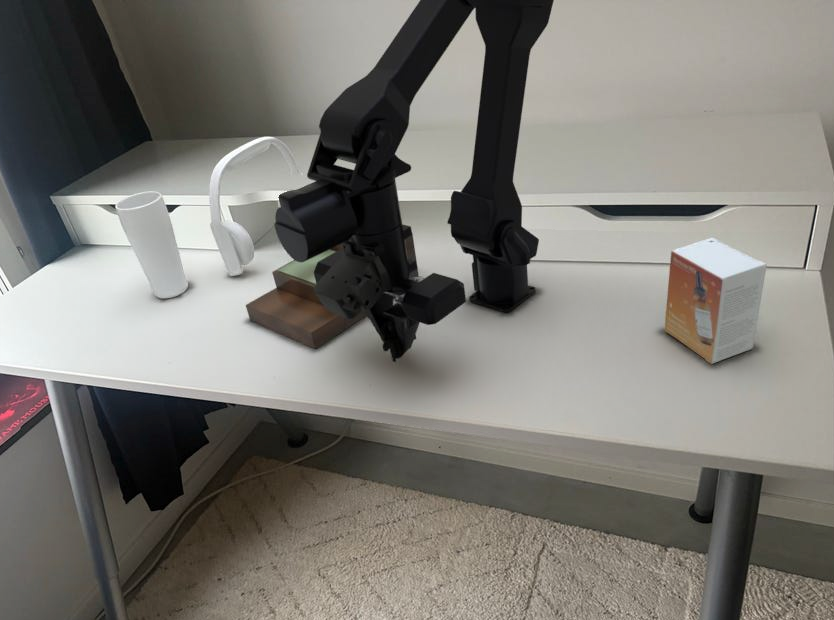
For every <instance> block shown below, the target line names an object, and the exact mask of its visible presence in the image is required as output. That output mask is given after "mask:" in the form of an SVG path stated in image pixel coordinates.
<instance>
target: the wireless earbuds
mask: <svg viewBox="0 0 834 620" xmlns="http://www.w3.org/2000/svg"><path fill="white" fill-rule="evenodd" d="M380 334H381V336H383V337H385V338H388V341H389V342H387V341H385V342H383V341H382V350H383V352H384V353H385V352H388V351H389V352H390V356H391V361H392V363H397V360H399V359H402V357H403V356H404V355H405V354H406V353H407V351H403V350H402V347H401V344H400V341H399V338H398V333H397V329H396V325H395V321H394V318H390V319H389V320H388V321H387V322H386V323H385V324H384V325H383V326H382V327H381V329H380ZM416 340H417V334H416V335H415V337H414V340H413V341H416Z"/></svg>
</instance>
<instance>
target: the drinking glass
mask: <svg viewBox="0 0 834 620" xmlns="http://www.w3.org/2000/svg"><path fill="white" fill-rule="evenodd" d="M115 211H116V213H117V217H118V220H119V223H120V225H121V227H122V229H123V232H124V234H125V237H126V239H127V241H128V243H129V245H130V247H131V249H132V251H133V253H134V254H135V257H136V259H137V262H138V263H139V265H140V267H141V269H142V271H143V273H144V275H145V277H146V280H147V281H148V284H149V286H150V288H151V291H152V293H153V295H154V296H155V297H156V298H158V299H172V298H174V297H177V296H180V295H182V294H183V293H184V292H185V291H186V290H187V289H188V286H189V282H188V279H187V277H186V274H185V270H184V265H183V262H182V258H181V255H180V254H181V253H180V251H179V247H178V246H179V245H178V243H177V239H176V235H175V231H174V227H173V223H172V220H171V215H170V213H169V210H168V208H167V205H166V203H165V200H164V197H163V195H162V193H161V192H158V191H153V190H152V191H151V190H150V191H143V192H141V191H140V192H138V193H133V194H131V195H128V196H126V197H124V198H121V199H119V200H118V201H117V202H116V203H115Z"/></svg>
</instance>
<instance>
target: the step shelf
mask: <svg viewBox="0 0 834 620" xmlns="http://www.w3.org/2000/svg"><path fill="white" fill-rule="evenodd" d="M342 244H343V243H342ZM342 244H340V245H338V246H336V247H333V248H331V249H329V250H327V251H325V252H323V253H321V254H319V255H317V256H315V257H313V258H311V259H309V260H307V261H305V262H297V261H295V260H294V259H293V260H291V261H289V262H288V263H286V264H284V265H282V266H280V267H278V268H276V269H275V270H273V271H271V272H272V273H271V274H272V276H273V280H274V284H275V288H273V289H271V290H269V291H268V292H266V293H264V294H262V295H261V296H259V297H257V298H255V299H254V300H252V301H250V302H249V303H247V304H245V308H246V312H247V314H248V318H249V321H250V322H252V323H255V324H258V325H260V326H262V327H264V328H267V329H268V330H271V331H273V332H275V333H278V334H281V335H283V336H285V337H287V338H289V339H292V340H294V341H296V342H298V343H301V344H303V345H306V346H308V347H310V348H312V349H314V350H316V349H318V348H319V347H321V346H322V345H324V344H325V343H327V342H328V341H330V340H332V339H333V338H335V337H336V336H338V335H339V334H341V333H342V332H343V331H345V330H347V329H348V328H350V327H351V326H353V325H354V324H356V323H358V322H359V321H361V320H363V319H364V318H365V317H368V316H367V315H366V313H365V312H364V310H363V309H362V310H361V312H360V314H359V315H358V316H356V317H355V318H352V319H347V318H344V317H343V316H341V315H339V314H336V313H334V312H332V313H331V312H329V311H328V310H327V309H326V308H325V306H324V305H323V303H322V302H321V300H320V299H319V297H318V296H317V294H316V293H315V291H314V287H315V285H316V280H315V276H314V270H315V267H316V265H317V262H319V261H320V260H322V259H324V258H326V257H327V256H329V255H331V254H333V253H335V252H336V251H338V250H340V249H342ZM405 244H406V250H407V256H408V259H412V260H416V263H417V264H418V260H417V255H416V248H415V240H414V235H413V232H412V235H411V236H410V237H408V238H406V239H405ZM409 275H410V277H409V278H414V277H420V275H419V267H418V266H417V269H416V270H415V271H413V272H412V273H410V274H409ZM395 298H396V297H395V296H393V299H395Z"/></svg>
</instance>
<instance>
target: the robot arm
mask: <svg viewBox="0 0 834 620" xmlns="http://www.w3.org/2000/svg"><path fill="white" fill-rule="evenodd" d="M554 1H555V0H419V1H418V2H417V4H416V5H415V7H414V9H413V10H412V11H411V13H410V14H409V16H408V17H407V19H406V21H405V22H404V23H403V25H402V26H401V27H400V29H399V30H398V32H397V34H395V36H394V38H393V39H392V41H391V42H390V44H389V45H388V46H387V48H386V49H385V51H384V53H383V54H382V56H381V57H380V58H379V60H378V61H377V62H376V64H375V65H374V67H373V68H372V69H371V70H370V71H369V72H368V73H367V74H366V75H365V76H364V77H361V79H359V80H357V81H355V82H354V83H353V84H351V85H349V86H347V87H346V88H345V89H344V90H343V91H342V92H341V93H340V94H339V95H338V97H337V98H335V99H334V100H333V101H332V102H331V103H330V104H329V106H328V107H327V108H326V109H325V110H324V112H323V114H322V116H321V117H320V120H319V125H318V128H319V131H320V134H319V136H318V140H317V143H316V146H315V148H314V152H313V155H312V158H311V161H310V164H309V166H308V167H309V168H308V171H307V174H306V177H307V178H308V179H309V180H311V181H313V182H310V183H307V185H306V186H304V187H301V188H299V189H296V190H290V191H287V192H284V193H282V194H280V195H279V197H278V198H279V202H280V206H281V207H278V208H277V209H276V211H275V215H274V216H275V222H274V224H273V226H274V230H275V232H276V235H277V238H278V240H279V242H280V245H281V246H282V248H283V250H284V251H285V252H286V253H287V255H288V256H289V257H290V258H291V259H293V260H295V261H297V262H305V261H307V260H309V259H311V258H313V257H315V256H317V255H319V254H321V253H323V252H325V251H327V250H329V249H331V248H333V247H336V246H338V245H340V244H342V243H343V244H342V249H340V250H338V251H336V252H335V253H333V254H331V255H329V256H327V257H326V258H324V259H322V260H320V261H319V262H317V265H316V267H315V270H314V276H315V280H316V285H315V287H314V291H315V293H316V294H317V296H318V297H319V299H320V300H321V302H322V303H323V305H324V306H325V308H326V309H327V310H328V311H329V312H331V313H332V312H334V313H336V314H339V315H341V316H343V317H344V318H347V319H352V318H355V317H356V316H358V315H359V314H360V312H361V310H362V309H363V310H364V312H365V313H366V315H367V316H366V317H367V318H368V319H369V321H370V323H371V324H372V326H373V327H374V329H375V331H376V332H377V334H378V336H379V338H380V339H381V341H382V343H383V342H385V341H387V342H389V341H388V338H385V337H383V336H381V334H380V329H381V327H382V326H383V325H384V324H385V323H386V322H387V321H388V320H389V319H390V318H394V321H395V325H396V329H397V333H398V338H399V341H400V344H401V347H402V350H403V351H406V352H407V351H409V350H410V349H411V348H412V346H413V343H414V341H415V340H414V337H415V335H416V336H417V331H418V329H419V325H420V323H421V324H424V325H427V326H430V325H437V323H439V322H440V321H442V320H443V319H445V318H446V317H447V316H448V315H450V314H452V312H454V311H455V310H457V309H458V308H460V307H462V305H464V304H466V302H467V297H466V290H465V289H466V288H465V283H464V282H462V281H460V280H459V279H457V278H453V277H450V276H447V275H443V274H439V273H436V272H432V273H430V274H429V275H428V276H426V277H420V276H419V277H414V278H409V277H410V275H409V274H410V273H412V272H413V271H415V270H416V269H417V267H418V262H417V263H416V260H417V259H416V260H412V259H408V256H407V250H406V244H405V239H406V238H408V237H410V236H411V235H412V233H413V231H412V226H411V225H407V224H403V219H402V214H401V213H402V212H401V208H400V207H401V206H400V201H399V194H398V189H397V182H396V179H397V178H398V177H401V176H403V175H405V174H407V173H409V172H411V171H412V166H411V164H409V163H408V162H406V161H403V160H402V159H401V158H399V157H398V156H397V154H396V153H397V151H398V148H399V147H400V144H401V143H402V141H403V139H404V137H405V135H406V133H407V130H408V128H409V125H410V112H411V105H412V103H413V101H414V99H415V97H416V95H418V92H419V91H420V90H421V88H422V87H423V85H424V84H425V82H426V81H427V79H428V77H430V74H431V73H432V71H433V70H434V69H435V68H436V66H437V64H438V63H439V61H440V59H441V58H442V57H443V56H444V54H445V52H446V51H447V49H448V48H449V46H450V45H451V43H452V42H453V41H454V40H455V37H456V36H457V35H458V33H459V32H460V30H461V29H462V27H463V26H464V24H465V23H466V21H467V20H468V18H469V17H470V15H471V14H472V12H473V11H475V21H476V26H477V27H478V30H479V33H480V35H481V38H482V41H483V44H484V46H485V47H484V49H485V50H484V60H483V67H482V68H483V69H482V77H481V87H480V95H479V105H478V112H477V113H478V114H477V121H476V130H475V140H474V149H473V156H472V157H473V158H472V166H471V174H470V178H469V179H468V180H467V182H466V183H465V185H464V187H462V189H461V190H459V191H458V190H454V191H452V194H451V196H450V212H449V216H448V219H447V224H448V225H450V234H451V237H452V238H453V239H454V241H455V242H456V243H457V244H458V245H459V247H460V248H461V250H462V253H463V254H467V255H468V254H469V255H471V256H472V262H471V271H472V281H473V290H474V291H475V292H474V293H472V294H471V295H470V296H468V300H469V302H472V303H475V304H478V305H481V306H484V307H487V308H491V309H493V310H497V311H500V312H503V313H510V312H511V311H513V310H514V309H515V308H516V307H518V306H519V305H521V303H523V302H524V301H526V300H527V299H528V298H529V297H531V296H532V295H534V294H535V293H536V291H537V288H536V287H535V286H532V285H529V278H528V277H529V276H528V275H529V273H528V265H529V264H531V260H532V259H533V258H535V257H537V254H538V249H539V248H538V247H539V243H540V239H539V238H538V237H536V235H534V234H533V233H532V232H530V231H529V230H527V229H526V228H525V227H523V223H522V221H523V205H522V202H521V200H520V199H521V198H520V197H519V193H518V191H517V189H516V186H515V183H514V173H515V167H516V159H517V151H518V144H519V137H520V129H521V123H522V122H521V121H522V116H523V108H524V100H525V92H526V84H527V78H528V72H529V71H528V70H529V65H530V63H529V62H530V57H531V56H530V55H531V50H532V49H533V47H534V46H535V44H536V43H537V41H538V40H539V38H540V37H541V35H542V34H543V32H544V31H545V29H546V28H547V26H548V24H549V21H550V17H551V13H552V10H553V4H554ZM338 160H341V161H344V162H347V163H351V164H355V165H354V168H353V169H351V168H348V167H344V166H341V165H337V164H336V163H337V161H338ZM393 296H395V297H394V298H395V299H394V298H393Z"/></svg>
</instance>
